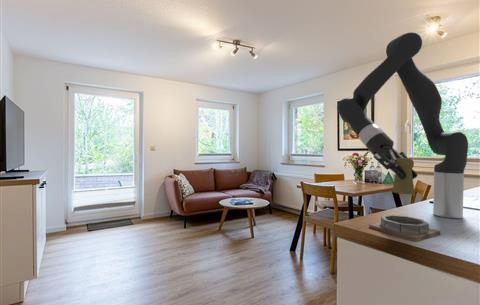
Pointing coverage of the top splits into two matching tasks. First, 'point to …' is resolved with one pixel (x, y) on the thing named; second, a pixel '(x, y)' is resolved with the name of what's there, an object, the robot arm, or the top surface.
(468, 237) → the top surface
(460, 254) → the top surface
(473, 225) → the top surface
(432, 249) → the top surface
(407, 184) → the cork
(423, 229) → the socket base
